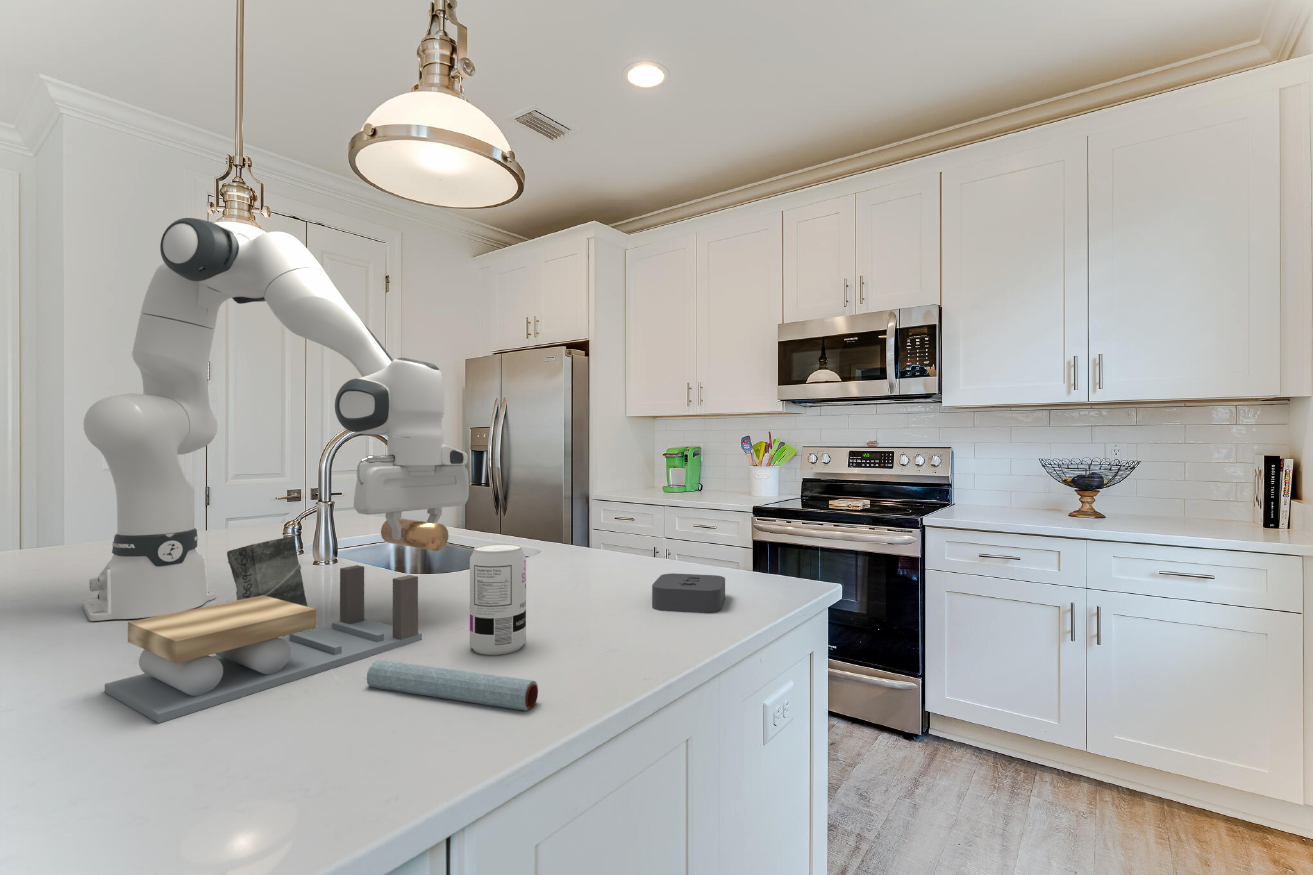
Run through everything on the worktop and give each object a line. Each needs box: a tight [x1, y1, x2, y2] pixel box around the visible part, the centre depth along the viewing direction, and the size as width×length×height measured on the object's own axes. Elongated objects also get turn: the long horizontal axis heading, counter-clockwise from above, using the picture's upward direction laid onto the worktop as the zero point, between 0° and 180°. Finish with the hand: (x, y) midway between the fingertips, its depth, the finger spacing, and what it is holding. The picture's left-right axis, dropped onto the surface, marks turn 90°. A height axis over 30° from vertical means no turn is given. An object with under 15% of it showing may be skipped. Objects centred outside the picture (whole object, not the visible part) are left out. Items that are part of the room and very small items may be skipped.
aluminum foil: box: [366, 659, 539, 712], centre depth 76 cm, size 23×7×3 cm, turn 72°
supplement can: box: [469, 542, 527, 656], centre depth 95 cm, size 8×8×15 cm
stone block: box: [226, 535, 308, 607], centre depth 102 cm, size 9×14×5 cm
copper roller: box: [380, 518, 449, 552], centre depth 106 cm, size 12×4×4 cm, turn 57°
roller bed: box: [104, 564, 423, 724], centre depth 88 cm, size 16×34×10 cm, turn 147°
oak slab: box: [127, 595, 317, 663], centre depth 82 cm, size 14×16×2 cm
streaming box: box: [651, 573, 726, 614], centre depth 119 cm, size 13×13×4 cm
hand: (414, 536), depth 106 cm, fingers closed on copper roller, 4 cm apart
